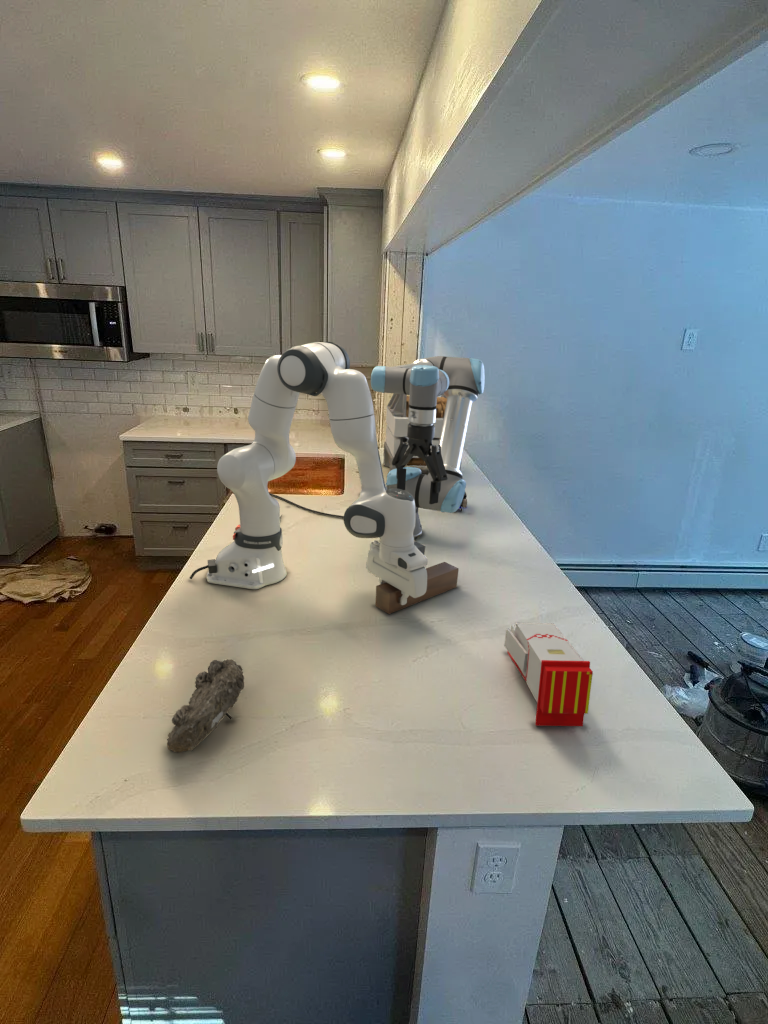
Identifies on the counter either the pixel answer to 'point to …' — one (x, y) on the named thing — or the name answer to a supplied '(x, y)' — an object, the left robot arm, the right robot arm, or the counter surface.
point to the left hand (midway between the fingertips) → (393, 598)
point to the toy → (551, 672)
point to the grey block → (420, 547)
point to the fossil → (206, 705)
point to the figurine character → (463, 502)
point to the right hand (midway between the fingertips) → (416, 496)
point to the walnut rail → (437, 583)
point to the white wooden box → (399, 427)
